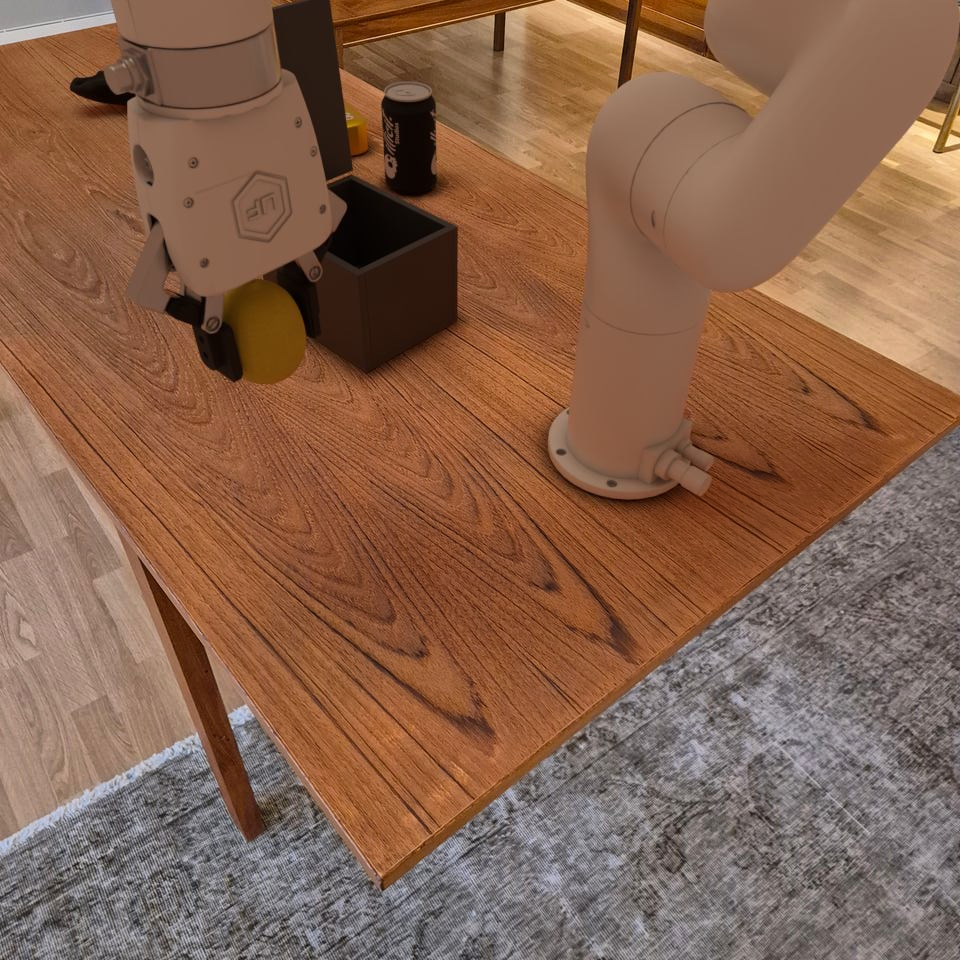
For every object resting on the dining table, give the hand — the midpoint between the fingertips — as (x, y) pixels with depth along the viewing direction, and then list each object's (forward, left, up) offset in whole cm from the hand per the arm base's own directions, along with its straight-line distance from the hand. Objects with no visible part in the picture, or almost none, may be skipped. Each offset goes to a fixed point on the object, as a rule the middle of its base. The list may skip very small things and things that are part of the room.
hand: (264, 347), depth 58 cm
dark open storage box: (+20, -24, -18) cm, 36 cm away
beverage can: (+38, -48, -18) cm, 64 cm away
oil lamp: (+85, -38, -18) cm, 95 cm away
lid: (+28, -24, +1) cm, 37 cm away
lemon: (0, 0, -3) cm, 3 cm away
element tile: (+58, -46, -18) cm, 76 cm away
